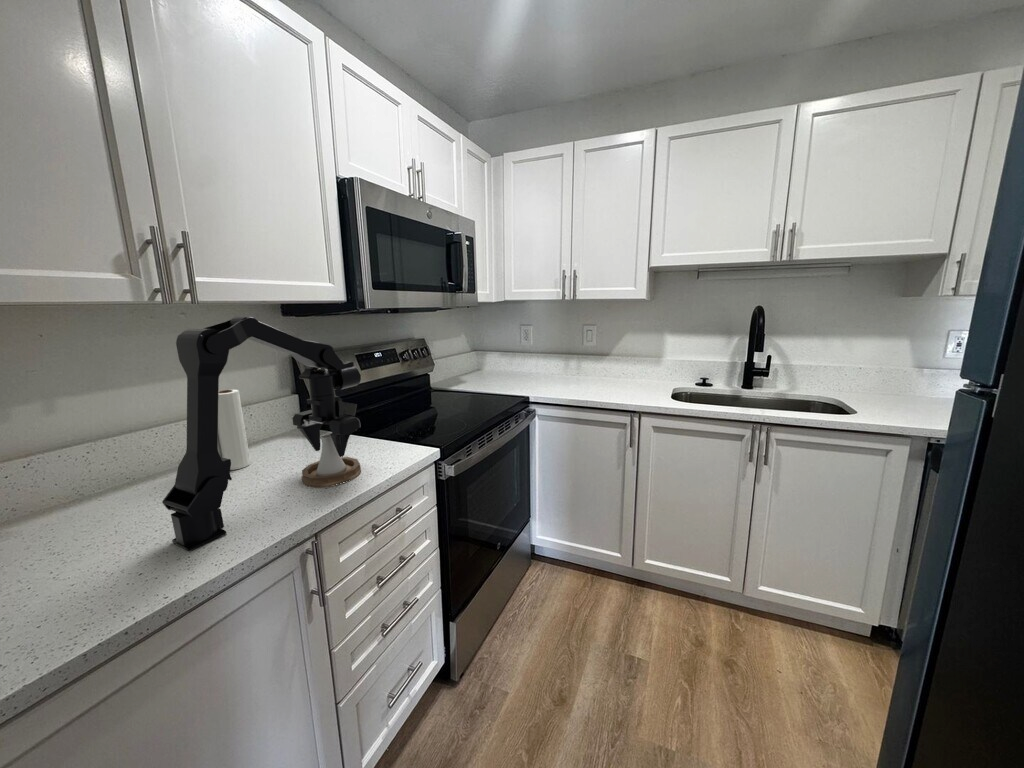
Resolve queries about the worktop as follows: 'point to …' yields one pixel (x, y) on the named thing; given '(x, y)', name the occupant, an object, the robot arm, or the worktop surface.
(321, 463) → the flask
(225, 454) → the paper towel roll
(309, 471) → the walnut collar
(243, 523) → the worktop surface
